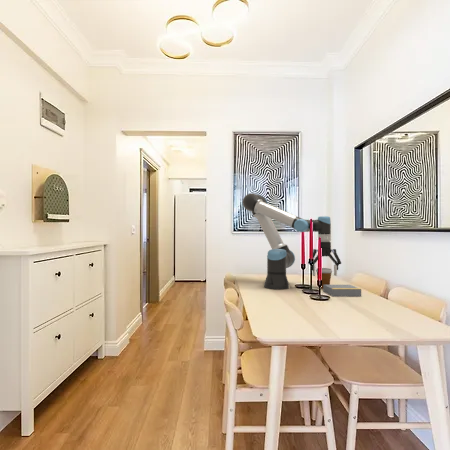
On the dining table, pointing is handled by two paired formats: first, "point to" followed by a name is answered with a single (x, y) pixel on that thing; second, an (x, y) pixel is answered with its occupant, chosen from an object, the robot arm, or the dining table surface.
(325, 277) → the disposable coffee cup
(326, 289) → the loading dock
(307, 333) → the dining table surface
